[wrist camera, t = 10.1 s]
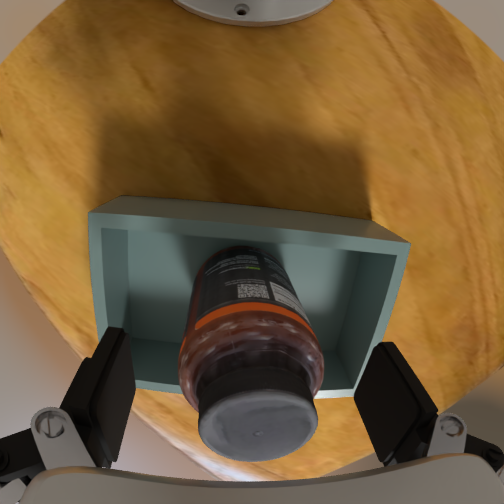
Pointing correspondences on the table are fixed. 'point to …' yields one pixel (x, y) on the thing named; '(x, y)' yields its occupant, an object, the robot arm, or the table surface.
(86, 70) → the table surface
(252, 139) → the table surface
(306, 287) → the box
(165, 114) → the table surface
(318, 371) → the supplement bottle
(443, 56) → the table surface
